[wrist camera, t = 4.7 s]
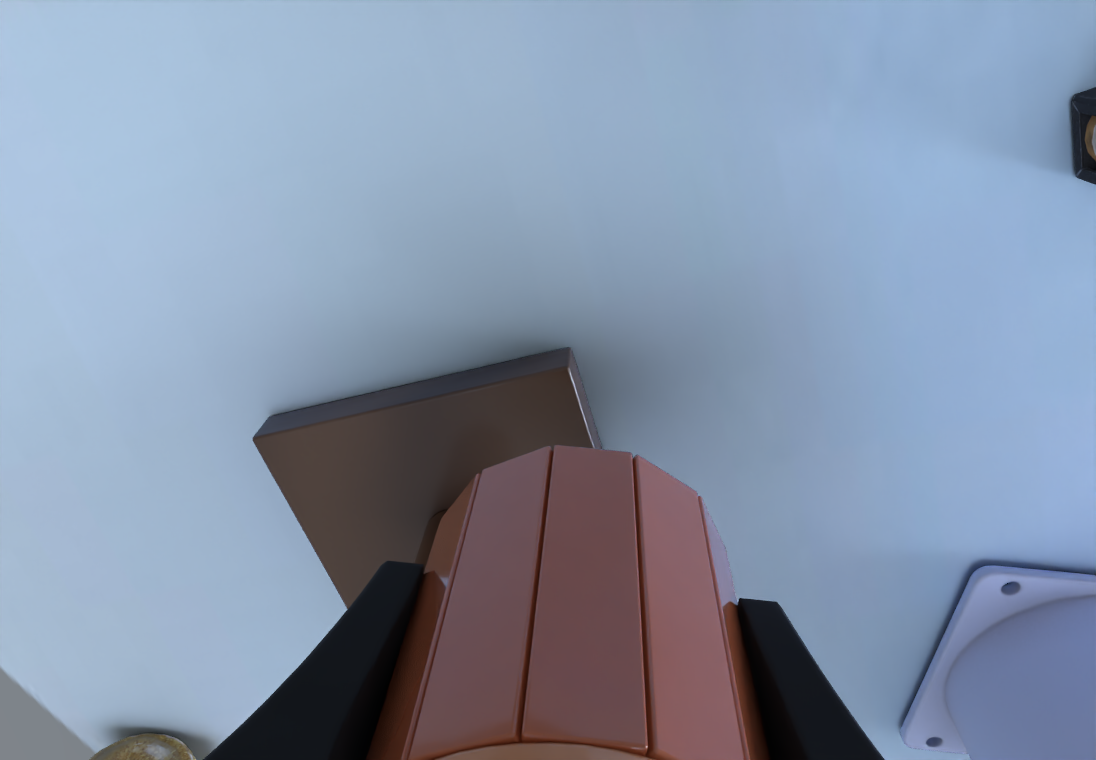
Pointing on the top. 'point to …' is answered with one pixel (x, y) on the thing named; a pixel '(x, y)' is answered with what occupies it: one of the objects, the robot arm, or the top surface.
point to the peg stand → (414, 456)
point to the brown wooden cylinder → (574, 623)
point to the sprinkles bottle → (146, 749)
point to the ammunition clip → (1085, 134)
